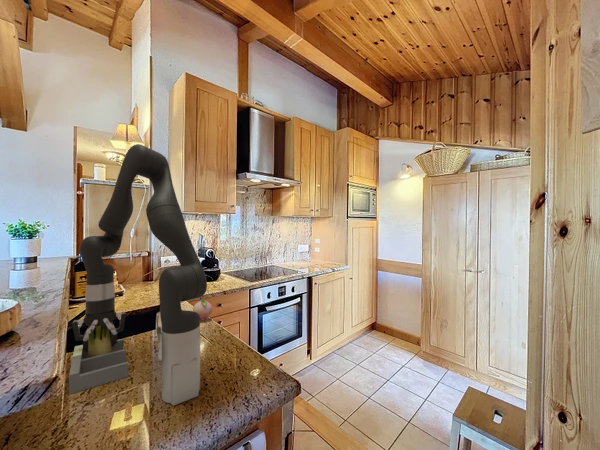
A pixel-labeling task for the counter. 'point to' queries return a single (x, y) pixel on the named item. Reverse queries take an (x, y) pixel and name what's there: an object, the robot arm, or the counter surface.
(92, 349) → the fennel bulb
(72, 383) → the comb rack
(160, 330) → the beer glass
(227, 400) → the counter surface
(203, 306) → the decorative fruit
